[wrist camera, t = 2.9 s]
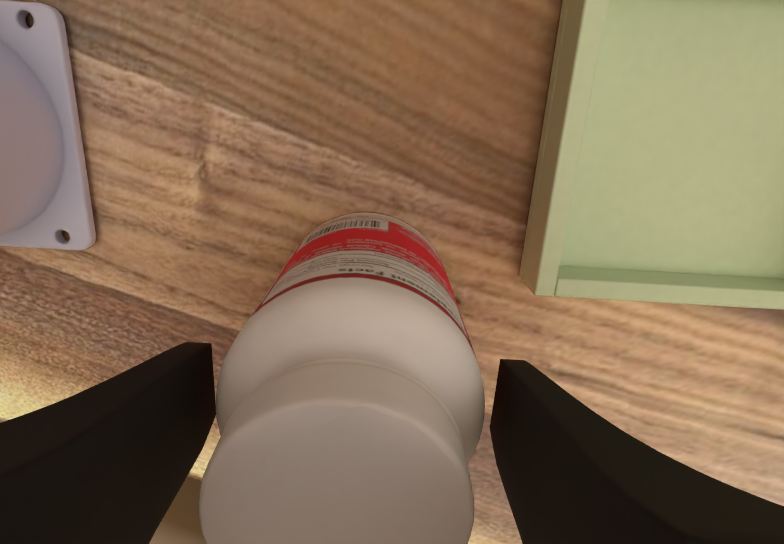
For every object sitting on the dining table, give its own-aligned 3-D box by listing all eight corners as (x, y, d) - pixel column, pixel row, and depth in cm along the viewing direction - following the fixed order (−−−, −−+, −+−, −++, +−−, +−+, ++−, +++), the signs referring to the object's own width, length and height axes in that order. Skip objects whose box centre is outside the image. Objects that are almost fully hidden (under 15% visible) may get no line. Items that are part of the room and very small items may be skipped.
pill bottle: (377, 384, 20) (361, 694, 9) (255, 296, 18) (80, 542, 8) (479, 277, 18) (599, 504, 8) (355, 173, 17) (298, 277, 6)
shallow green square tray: (518, 275, 18) (534, 296, 16) (567, -37, 15) (594, -59, 13) (783, 291, 18) (830, 313, 16) (891, -14, 15) (967, -32, 13)
